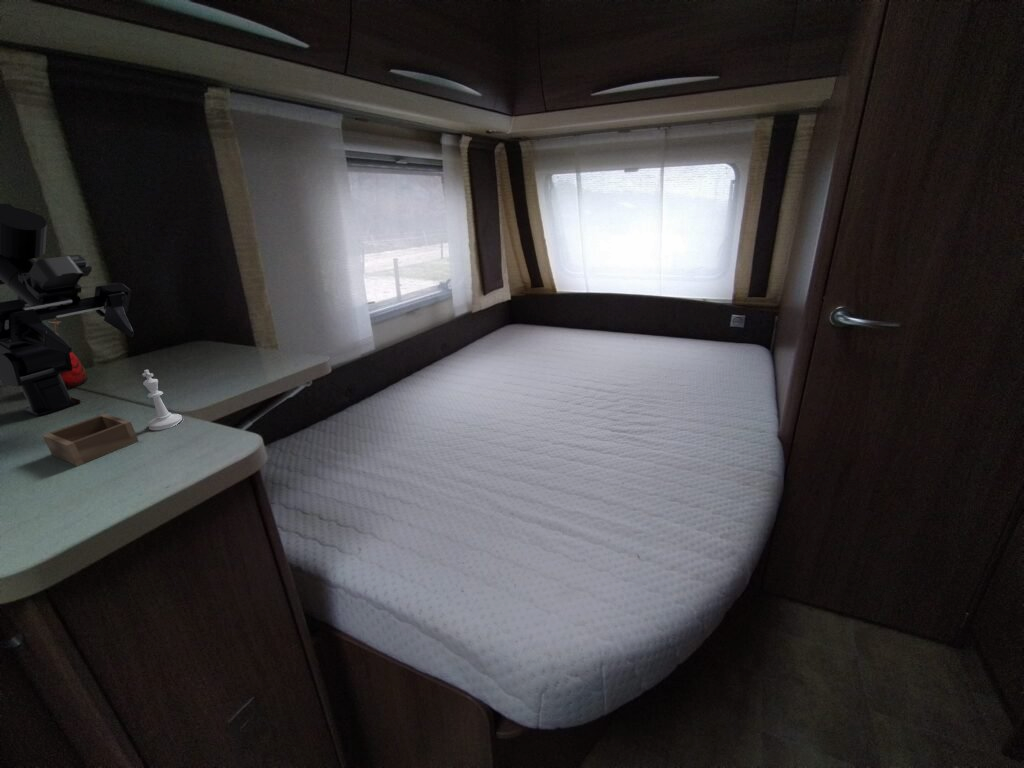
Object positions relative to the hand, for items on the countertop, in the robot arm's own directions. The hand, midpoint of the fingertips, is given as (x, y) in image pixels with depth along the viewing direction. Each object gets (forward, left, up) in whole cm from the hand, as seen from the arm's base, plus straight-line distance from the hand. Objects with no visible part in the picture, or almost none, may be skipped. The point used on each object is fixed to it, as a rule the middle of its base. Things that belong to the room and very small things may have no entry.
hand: (103, 342), depth 74 cm
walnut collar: (+6, -8, -15) cm, 18 cm away
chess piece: (+7, +1, -15) cm, 16 cm away
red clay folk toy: (-35, +4, -15) cm, 38 cm away
